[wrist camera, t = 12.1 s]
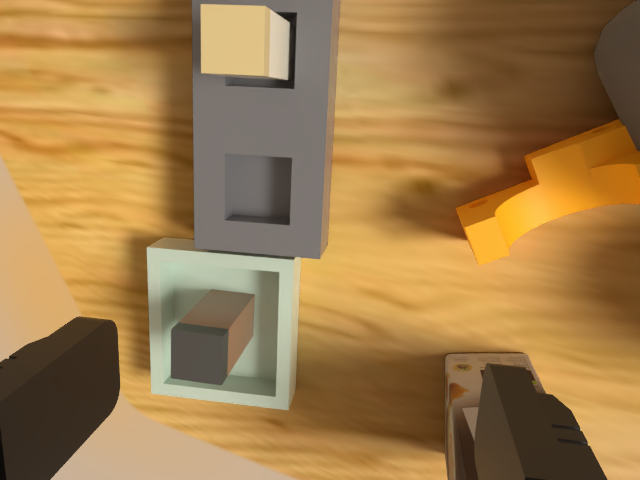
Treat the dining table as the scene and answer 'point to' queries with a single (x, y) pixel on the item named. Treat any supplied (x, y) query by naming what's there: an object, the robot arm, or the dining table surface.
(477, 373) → the coffee box
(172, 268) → the parts tray
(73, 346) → the robot arm
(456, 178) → the dining table surface
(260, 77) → the block
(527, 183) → the pipe clamp
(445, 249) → the dining table surface
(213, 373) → the block
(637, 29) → the alarm clock
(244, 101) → the block
